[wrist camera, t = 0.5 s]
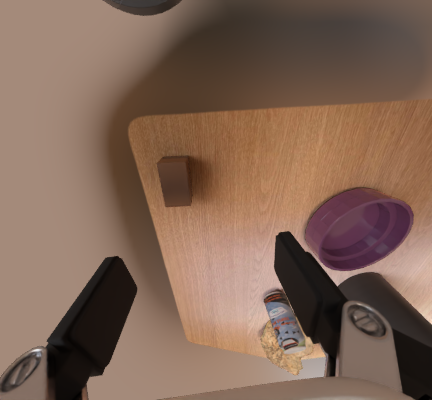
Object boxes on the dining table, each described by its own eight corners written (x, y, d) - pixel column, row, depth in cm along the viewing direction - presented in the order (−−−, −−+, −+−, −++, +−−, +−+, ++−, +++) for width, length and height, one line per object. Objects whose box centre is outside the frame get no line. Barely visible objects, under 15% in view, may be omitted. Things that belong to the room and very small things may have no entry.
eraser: (162, 156, 25) (156, 163, 22) (188, 155, 26) (185, 161, 22) (170, 196, 29) (165, 207, 25) (192, 195, 29) (191, 205, 25)
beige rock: (266, 295, 55) (272, 312, 48) (309, 307, 54) (322, 326, 47) (253, 342, 57) (257, 366, 49) (295, 355, 56) (305, 381, 48)
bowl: (289, 226, 34) (301, 242, 29) (368, 168, 29) (398, 178, 25) (325, 263, 40) (340, 281, 36) (395, 221, 35) (423, 236, 31)
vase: (324, 296, 47) (469, 513, 21) (361, 266, 42) (613, 505, 16) (354, 306, 51) (510, 501, 25) (392, 279, 45) (637, 490, 20)
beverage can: (279, 284, 43) (304, 340, 32) (288, 297, 46) (314, 352, 35) (258, 293, 44) (275, 350, 33) (268, 305, 47) (287, 361, 36)
